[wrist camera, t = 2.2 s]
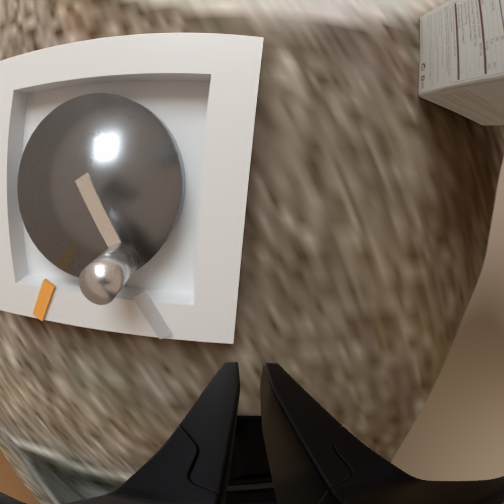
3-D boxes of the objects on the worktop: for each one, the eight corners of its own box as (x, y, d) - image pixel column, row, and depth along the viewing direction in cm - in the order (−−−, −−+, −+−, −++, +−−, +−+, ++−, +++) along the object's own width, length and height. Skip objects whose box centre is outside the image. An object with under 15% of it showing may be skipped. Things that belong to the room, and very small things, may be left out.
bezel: (258, 54, 17) (264, 36, 14) (232, 320, 22) (233, 346, 19) (18, 69, 15) (-7, 61, 12) (18, 294, 20) (-2, 311, 17)
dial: (11, 157, 16) (-43, 164, 10) (140, 65, 15) (107, 33, 10) (78, 294, 19) (39, 336, 14) (217, 225, 18) (211, 255, 13)
